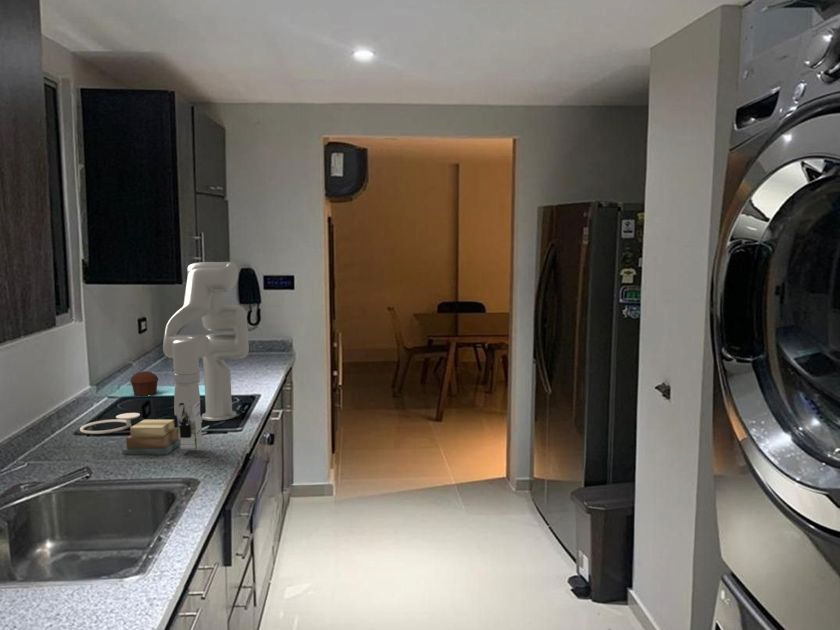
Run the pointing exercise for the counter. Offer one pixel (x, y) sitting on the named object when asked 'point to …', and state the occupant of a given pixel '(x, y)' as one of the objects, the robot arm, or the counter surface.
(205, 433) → the pacifier
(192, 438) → the syrup box
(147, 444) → the tower base
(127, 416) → the hand towel holder
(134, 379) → the muffin
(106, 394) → the counter surface
